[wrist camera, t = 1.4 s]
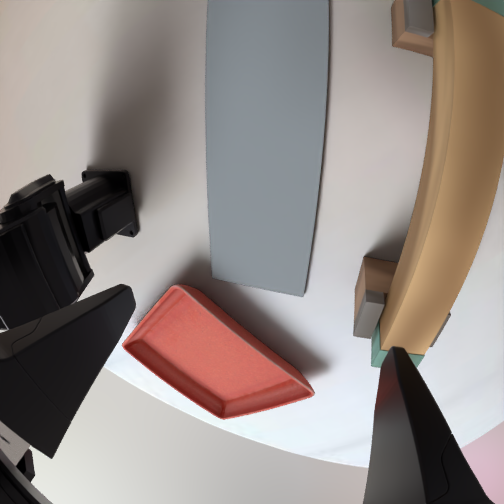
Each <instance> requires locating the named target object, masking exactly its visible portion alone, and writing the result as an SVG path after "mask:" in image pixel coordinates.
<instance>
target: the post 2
mask: <svg viewBox="0 0 504 504" xmlns="http://www.w3.org/2000/svg"><path fill="white" fill-rule="evenodd" d="M397 266H398V263H395V262H390V261H385V260H379V259H374V258H369V257H363V261H362V265H361V269H360V273H359V276H358V280H357V283H356V287H355V309H354V332H353V336H356V337H362V338H368V339H371V336H372V334H373V332H374V329H375V327H376V325H377V322H378V320H379V318H380V315H381V313H382V310H383V308H384V305H385V303H384V302H385V300H386V297H387V294H388V292H389V289H390V286H391V283H392V281H393V278H394V275H395V272H396V269H397ZM450 316H451V314H450V312H449V313H448V315H447V317H446V319H445V321H444V323H443V324H442V326H441V328H440V330H439V331H438V333H437V335H436V336H435V338H434V340H433V341H432V343H431V345H430V346H429V347H432V346H433V345H434V343H435V342H436V340H437V338H438V337H439V335H440V333H441V332H442V330H443V328H444V326H445V325H446V323H447V321H448V319H449V318H450Z"/></svg>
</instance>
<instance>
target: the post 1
mask: <svg viewBox="0 0 504 504" xmlns="http://www.w3.org/2000/svg"><path fill="white" fill-rule="evenodd" d="M391 16H392V46H393V47H398V48H402V49H406V50H410V51H413V52H417V53H421V54H424V55H427V56H431V57H433V33H434V22H433V9H432V0H395V1H394V3H393V5H392V7H391Z"/></svg>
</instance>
